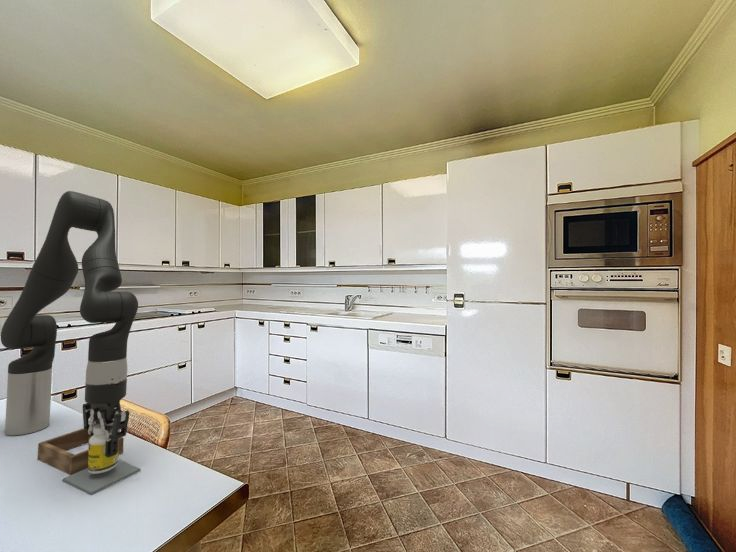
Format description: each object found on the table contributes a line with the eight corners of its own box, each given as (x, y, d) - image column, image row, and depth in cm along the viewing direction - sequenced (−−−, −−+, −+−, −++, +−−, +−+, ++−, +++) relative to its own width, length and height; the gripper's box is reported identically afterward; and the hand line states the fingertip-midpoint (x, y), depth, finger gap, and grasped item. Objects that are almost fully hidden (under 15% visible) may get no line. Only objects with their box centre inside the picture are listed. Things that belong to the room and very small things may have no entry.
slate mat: (62, 481, 74) (62, 478, 74) (112, 459, 83) (112, 457, 83) (91, 495, 69) (91, 492, 69) (140, 471, 78) (140, 468, 78)
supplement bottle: (82, 470, 75) (84, 426, 75) (110, 459, 80) (112, 418, 80) (94, 477, 72) (96, 432, 73) (122, 465, 77) (124, 423, 77)
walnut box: (37, 459, 82) (38, 443, 82) (89, 440, 92) (90, 426, 92) (71, 475, 76) (71, 457, 76) (123, 453, 86) (123, 437, 86)
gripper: (69, 377, 76) (66, 452, 76) (107, 387, 70) (103, 468, 70) (106, 370, 83) (103, 438, 83) (143, 378, 77) (140, 452, 77)
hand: (103, 452), depth 76 cm, fingers open, 5 cm apart
